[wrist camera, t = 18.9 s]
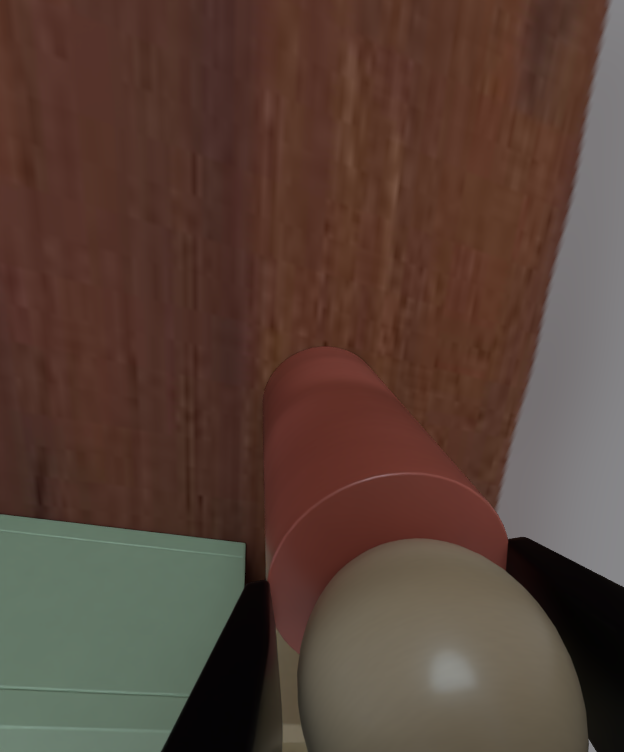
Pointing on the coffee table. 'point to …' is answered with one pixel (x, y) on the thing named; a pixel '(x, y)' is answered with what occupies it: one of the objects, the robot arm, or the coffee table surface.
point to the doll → (398, 581)
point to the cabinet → (105, 631)
